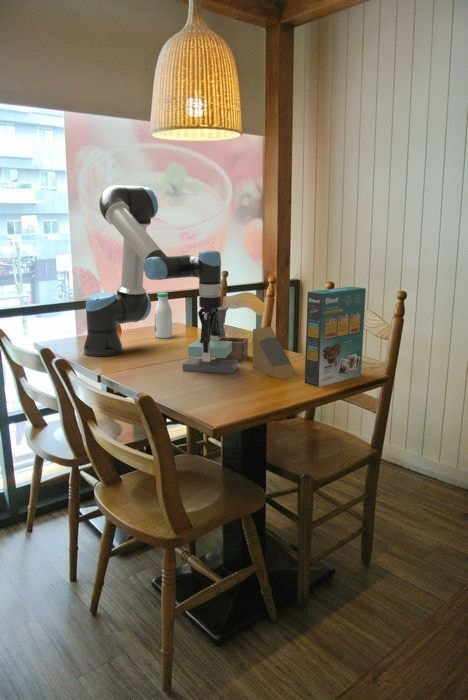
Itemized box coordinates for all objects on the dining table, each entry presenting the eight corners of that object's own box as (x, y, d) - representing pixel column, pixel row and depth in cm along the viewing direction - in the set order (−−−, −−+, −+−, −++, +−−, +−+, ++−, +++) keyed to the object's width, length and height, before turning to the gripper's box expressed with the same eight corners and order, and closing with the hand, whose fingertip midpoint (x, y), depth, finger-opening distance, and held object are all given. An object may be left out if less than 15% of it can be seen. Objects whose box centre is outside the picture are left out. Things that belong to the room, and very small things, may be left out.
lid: (188, 356, 196) (188, 346, 195) (196, 349, 206) (196, 339, 206) (225, 358, 193) (225, 348, 192) (232, 350, 204) (232, 341, 203)
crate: (215, 359, 214) (215, 341, 213) (220, 354, 223) (220, 337, 221) (243, 361, 212) (243, 343, 211) (247, 355, 221) (247, 338, 219)
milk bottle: (175, 336, 256) (174, 292, 252) (165, 339, 250) (164, 294, 246) (162, 334, 260) (161, 291, 256) (151, 337, 254) (150, 293, 250)
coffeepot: (222, 338, 252) (222, 298, 248) (234, 342, 245) (234, 301, 240) (192, 343, 243) (192, 301, 239) (204, 346, 236) (204, 304, 232)
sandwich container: (280, 380, 188) (281, 336, 185) (251, 370, 200) (252, 328, 197) (299, 375, 193) (300, 333, 190) (270, 366, 205) (270, 326, 202)
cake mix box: (346, 371, 198) (351, 286, 191) (360, 375, 194) (365, 288, 187) (304, 383, 184) (307, 291, 177) (318, 387, 180) (322, 293, 173)
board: (182, 370, 198) (182, 363, 198) (189, 364, 207) (189, 357, 206) (232, 373, 195) (232, 366, 194) (237, 367, 204) (237, 360, 203)
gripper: (212, 300, 183) (213, 365, 188) (227, 292, 206) (227, 350, 211) (190, 300, 185) (191, 364, 189) (207, 291, 207) (208, 349, 212)
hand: (210, 357), depth 200 cm, fingers closed on lid, 11 cm apart
